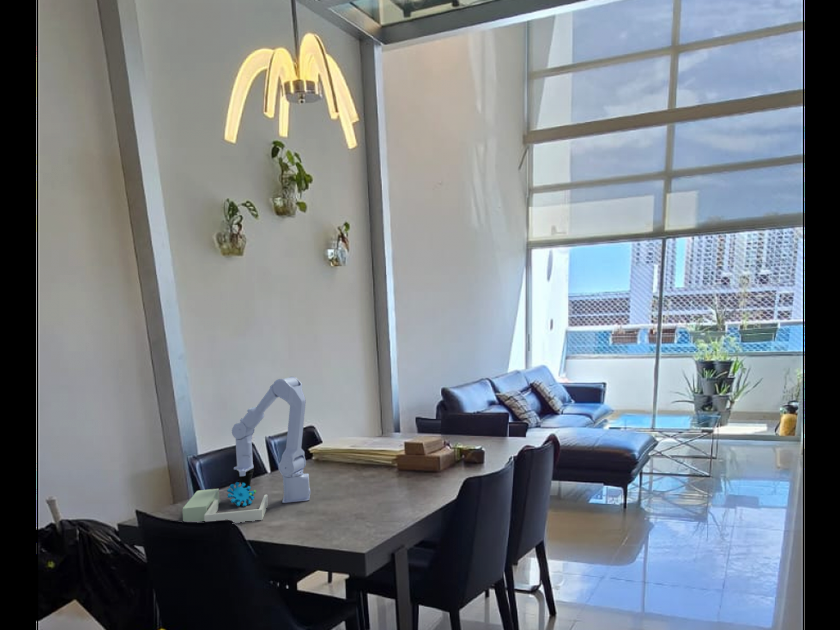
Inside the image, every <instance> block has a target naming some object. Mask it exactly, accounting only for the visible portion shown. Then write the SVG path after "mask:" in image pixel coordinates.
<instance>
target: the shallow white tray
mask: <svg viewBox="0 0 840 630" xmlns="http://www.w3.org/2000/svg"><path fill="white" fill-rule="evenodd" d="M268 507H269V497H268V494H264V495H263V498H262V501H261V503H260V506H259V508H258V509H257V508H256V509H246V510H236V511H226V512H218V510H219V504H218V499H216V500H214V502H213V503H212V505H211V506H210V508H209V509H208V510H207V512H206V513H205V515H204V521H216V520H225V519H228V520H232V521H234V522H235V523H234V524H239V523H240V522H242V523H246V522H245V521H252V522H256V521H255V520H261V521H263V520H262V519H264V516H265V514H266V512H267V509H266V508H268Z"/></svg>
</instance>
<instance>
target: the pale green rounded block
mask: <svg viewBox="0 0 840 630" xmlns="http://www.w3.org/2000/svg"><path fill="white" fill-rule="evenodd" d="M216 499H218V505H219V504H220V490H219V488H210V489H202V490H201V489H200V490H196V491H195V493H194V494H192V496H191V497H190V499H189V500H188V501H187V503H186V504H184V506H183V507H182V522H183V521H204V515H205V513H206V512H207V510H208V509H209V508H210V506H211V505H212V503H213V502H214V500H216Z"/></svg>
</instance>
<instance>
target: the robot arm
mask: <svg viewBox="0 0 840 630" xmlns="http://www.w3.org/2000/svg"><path fill="white" fill-rule="evenodd" d="M278 398H280V399H282V400H284V401H285V402H287V404H288V406H289V411H288V412H289V414H288V424H287V425H288V426H287V434H286V435H287V436H286V443H285V444H286V445H285V449H284V451H283V453H282V455H281V459H280V462H279V463H278V471H279V473H280V474H281V475H282V481H283V482H282V484H283V485H282V487H283V497H282V503H283V504H286V503H296V502H297V503H298V502H306V501H310V497H311V488H310V474H309V473H304V469H305V467H306V464H307V460H306V456H305V450H304V449H303V448H302V444H303V434H304V425H305V423H304V422H305V412H306V397H305V394H304V391H303V382H301V381H300V379H298V378H297V377H296V376H289V377H285V378H277V379H276V380H275V381H274V382H273V384H272V385H270V387H269V389H268V390H267V392H266V393H265V395H264V396H263V398H262V399H261V400H260V401H259V402H258V404H257V406H254V407H253V406H252V407H249V408H248V409H247V410H246V412H247V413H246V414H245V415H244V416H243V418H241V419H240V420H239V422H238V423H237V422H236V423H235V424H234V425H233V427H232V428H231V434H232V437H233V438H234V439H235V453H236V466H234V467H233V470H234V471H235V470H236V471H238V472H237V473H236V477H237V478H238V480H239V483H240V486H241V485H242V483H245V484H246V485H245V487H243V488H247V487H248V486H250V487H251V481H252V477H253V474H254V471H255V470H254V462H253V461H254V459H253V457H254V456H253V445H252V444H253V442H252V441H253V435H254V433H255V429H256V428H257V426H258V425H259V424H260V423H261V422H262V420H264V417H265V414H264V413H265V412H266V411H267V409H268V408H269V407H270V406H271V405H272V404H273V403H274V402H275V401H276V400H277V399H278ZM247 491H250V490H247Z"/></svg>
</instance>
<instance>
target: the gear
mask: <svg viewBox="0 0 840 630" xmlns="http://www.w3.org/2000/svg"><path fill="white" fill-rule="evenodd" d="M239 485H240V486H239ZM245 485H246V484H245V483H242V485H241V482H240V481H239V482H238V481H236V482H235V484H234V483H231V484H230V485H229V488H227V491H226V492H227V493H228V494H227V498H228V499H230V498H231V499H230V503H231V504H233V503H234V504H235V505H236V506H237V507H240V505H241V503H242V502H243V504H242V505H241V506H242V507H244V506H246V507H247V505H249V504H250V505H252V503H253V501H254V499H255V497H256V496H254V495H255V494H256V493H257V490H256V489H253V490H251V489H252V488H251V487H252V486H251V485H250V486H248V487H247V488H243V487H245ZM247 490H249V491H247ZM250 505H249V506H250Z"/></svg>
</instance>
